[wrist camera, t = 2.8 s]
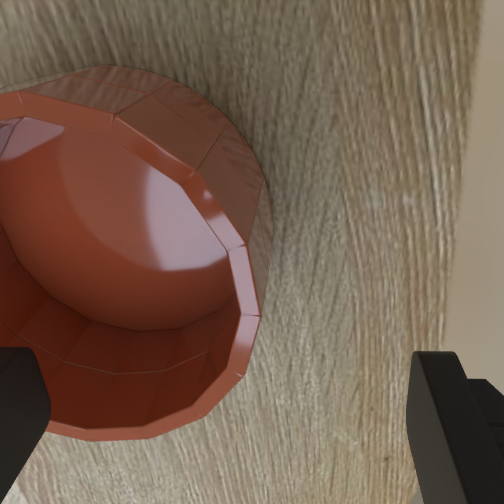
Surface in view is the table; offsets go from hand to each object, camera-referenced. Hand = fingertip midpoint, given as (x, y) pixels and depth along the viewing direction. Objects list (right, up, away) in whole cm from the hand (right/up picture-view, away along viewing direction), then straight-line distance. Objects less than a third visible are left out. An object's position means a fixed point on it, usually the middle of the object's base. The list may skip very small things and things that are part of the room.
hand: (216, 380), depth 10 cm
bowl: (-4, +4, +9) cm, 10 cm away
